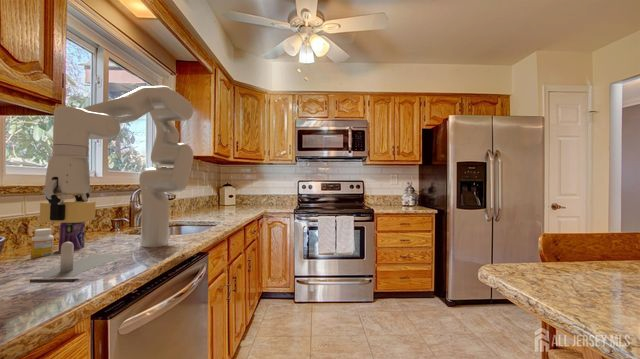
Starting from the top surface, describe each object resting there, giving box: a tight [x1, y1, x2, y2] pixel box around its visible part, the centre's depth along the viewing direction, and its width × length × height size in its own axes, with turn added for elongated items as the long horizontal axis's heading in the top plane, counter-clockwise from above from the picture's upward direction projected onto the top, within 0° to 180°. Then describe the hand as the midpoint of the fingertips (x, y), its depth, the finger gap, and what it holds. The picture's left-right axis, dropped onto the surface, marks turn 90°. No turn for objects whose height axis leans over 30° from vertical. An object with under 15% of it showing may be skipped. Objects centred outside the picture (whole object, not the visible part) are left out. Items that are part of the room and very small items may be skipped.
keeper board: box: [29, 242, 126, 284], centre depth 86 cm, size 24×10×9 cm, turn 5°
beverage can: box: [58, 221, 86, 252], centre depth 106 cm, size 7×7×12 cm
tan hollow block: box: [39, 200, 97, 223], centre depth 79 cm, size 7×9×5 cm
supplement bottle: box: [30, 228, 55, 259], centre depth 96 cm, size 5×5×10 cm
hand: (68, 218), depth 79 cm, fingers closed on tan hollow block, 7 cm apart
